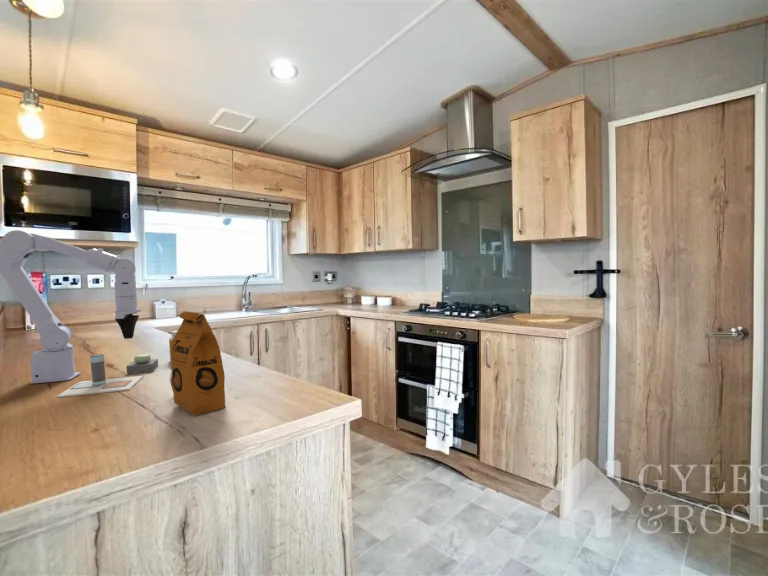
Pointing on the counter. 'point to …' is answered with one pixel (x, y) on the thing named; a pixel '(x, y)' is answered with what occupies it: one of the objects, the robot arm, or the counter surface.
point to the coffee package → (197, 366)
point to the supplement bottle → (171, 340)
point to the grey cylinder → (98, 370)
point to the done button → (142, 358)
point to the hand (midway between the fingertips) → (128, 338)
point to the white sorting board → (102, 386)
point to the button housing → (142, 366)
